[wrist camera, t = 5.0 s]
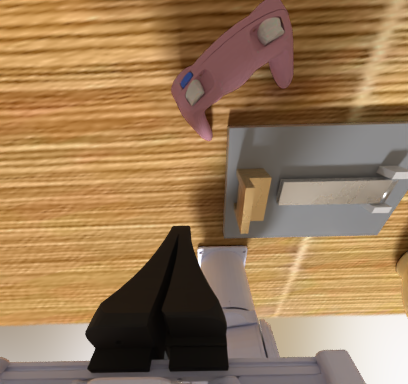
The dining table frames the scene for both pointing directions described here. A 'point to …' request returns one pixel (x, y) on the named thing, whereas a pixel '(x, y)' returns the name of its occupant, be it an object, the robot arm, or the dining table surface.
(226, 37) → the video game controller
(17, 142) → the dining table surface
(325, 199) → the silver flat bar
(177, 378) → the robot arm
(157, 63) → the dining table surface
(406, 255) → the pitcher
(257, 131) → the base board
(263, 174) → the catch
